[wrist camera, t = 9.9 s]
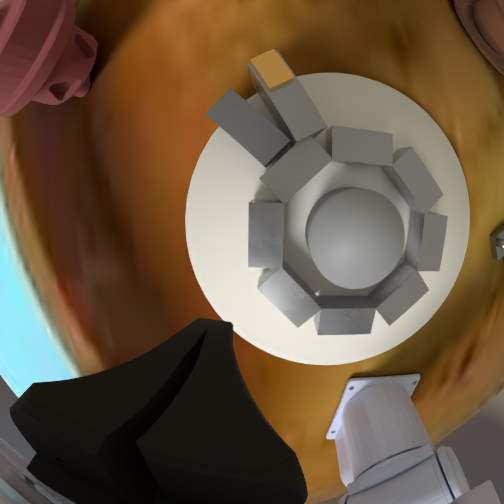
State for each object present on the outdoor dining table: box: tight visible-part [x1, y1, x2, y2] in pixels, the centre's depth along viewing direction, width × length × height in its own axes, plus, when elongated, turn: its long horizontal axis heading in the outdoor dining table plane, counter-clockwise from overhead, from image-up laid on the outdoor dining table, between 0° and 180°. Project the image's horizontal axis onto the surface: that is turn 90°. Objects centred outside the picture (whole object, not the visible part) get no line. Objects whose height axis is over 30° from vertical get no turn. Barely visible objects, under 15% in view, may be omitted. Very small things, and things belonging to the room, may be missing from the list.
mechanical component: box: [0, 0, 98, 117], centre depth 10 cm, size 12×10×10 cm
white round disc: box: [185, 73, 470, 365], centre depth 16 cm, size 22×22×4 cm
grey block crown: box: [247, 49, 448, 335], centre depth 15 cm, size 13×17×4 cm
